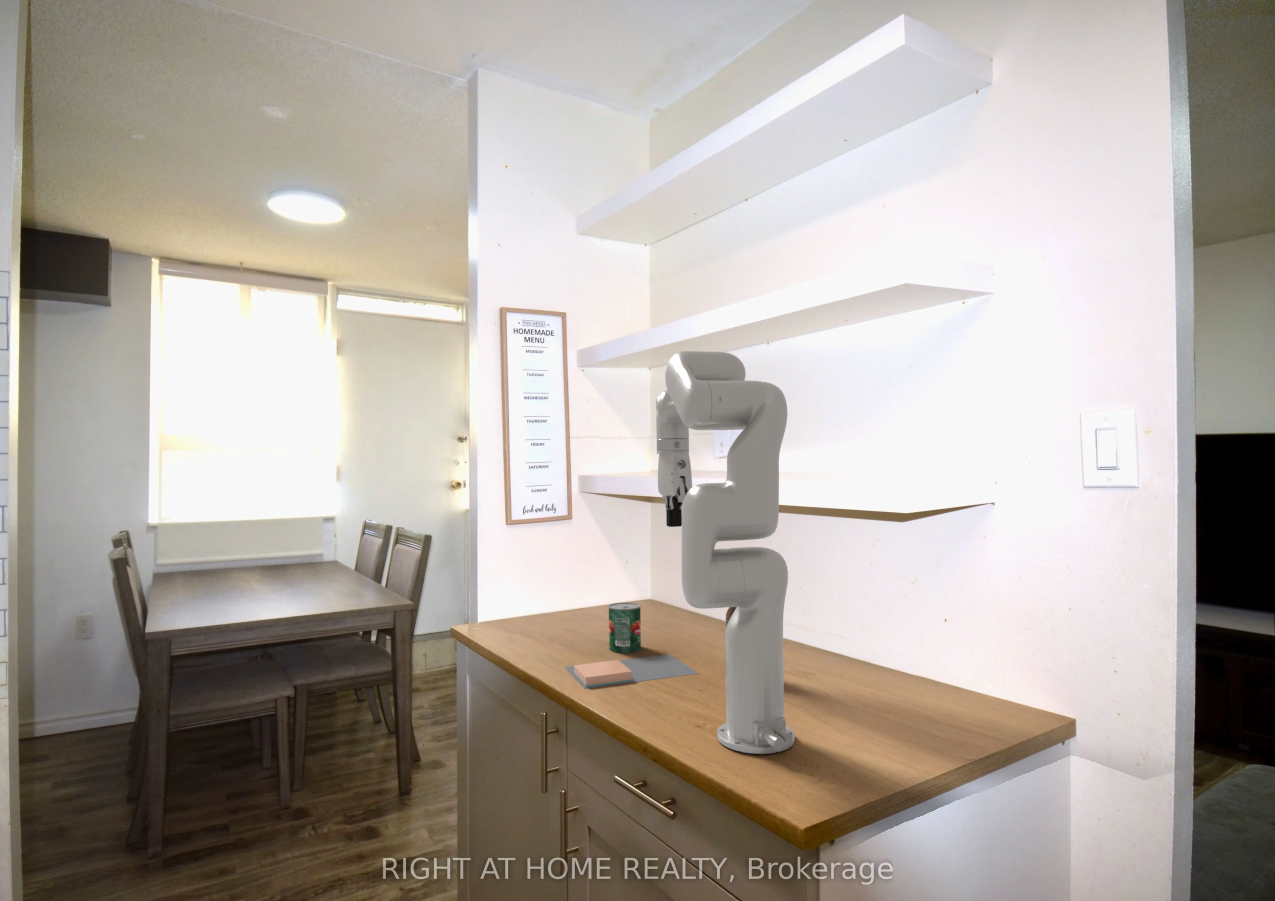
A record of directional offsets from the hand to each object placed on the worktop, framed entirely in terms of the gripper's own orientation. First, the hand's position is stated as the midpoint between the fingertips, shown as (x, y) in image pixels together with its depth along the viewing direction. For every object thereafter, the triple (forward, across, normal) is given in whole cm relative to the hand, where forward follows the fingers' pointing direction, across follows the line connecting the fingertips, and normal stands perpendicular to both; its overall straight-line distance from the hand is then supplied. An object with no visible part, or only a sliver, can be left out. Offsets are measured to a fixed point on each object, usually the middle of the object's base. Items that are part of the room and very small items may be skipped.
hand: (674, 526), depth 159 cm
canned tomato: (+31, +13, +8) cm, 35 cm away
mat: (+31, -4, +13) cm, 34 cm away
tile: (+30, -2, +20) cm, 36 cm away
